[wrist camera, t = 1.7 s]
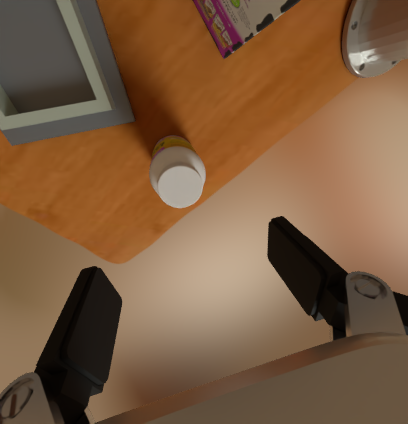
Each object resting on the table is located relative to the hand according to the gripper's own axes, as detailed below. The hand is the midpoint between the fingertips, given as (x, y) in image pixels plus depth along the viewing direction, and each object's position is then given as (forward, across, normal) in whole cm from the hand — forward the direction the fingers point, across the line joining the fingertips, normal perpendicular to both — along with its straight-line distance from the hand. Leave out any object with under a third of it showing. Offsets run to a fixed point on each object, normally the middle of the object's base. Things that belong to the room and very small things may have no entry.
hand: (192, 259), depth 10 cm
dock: (+23, +12, -14) cm, 29 cm away
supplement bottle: (+23, 0, 0) cm, 23 cm away
